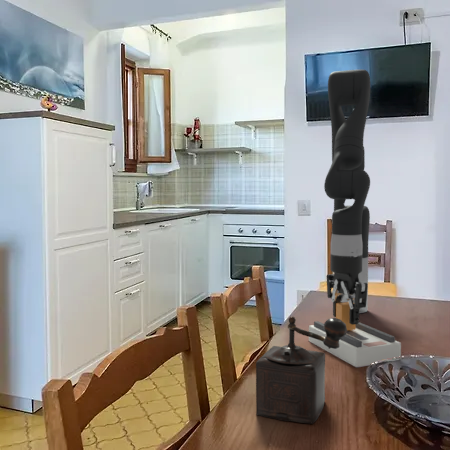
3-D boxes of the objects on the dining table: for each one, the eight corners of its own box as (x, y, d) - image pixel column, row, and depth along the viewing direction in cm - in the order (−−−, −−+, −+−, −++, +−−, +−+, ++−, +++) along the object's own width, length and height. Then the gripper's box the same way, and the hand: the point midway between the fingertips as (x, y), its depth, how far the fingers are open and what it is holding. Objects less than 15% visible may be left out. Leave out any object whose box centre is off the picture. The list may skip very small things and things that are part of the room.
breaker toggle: (335, 328, 121) (336, 303, 121) (349, 326, 123) (349, 301, 122) (341, 331, 119) (341, 305, 119) (355, 329, 120) (355, 303, 120)
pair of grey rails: (314, 326, 125) (314, 321, 125) (347, 322, 129) (347, 317, 129) (357, 347, 108) (357, 342, 108) (394, 342, 112) (394, 336, 112)
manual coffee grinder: (252, 416, 85) (252, 314, 83) (272, 392, 95) (271, 300, 93) (344, 433, 79) (345, 323, 77) (354, 405, 89) (355, 307, 87)
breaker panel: (308, 341, 126) (308, 325, 126) (348, 335, 130) (348, 320, 130) (356, 367, 107) (356, 349, 107) (400, 360, 112) (401, 342, 111)
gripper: (317, 250, 125) (316, 314, 126) (351, 257, 111) (350, 329, 113) (342, 248, 127) (341, 312, 129) (378, 255, 114) (377, 326, 115)
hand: (345, 320), depth 121 cm, fingers open, 6 cm apart
